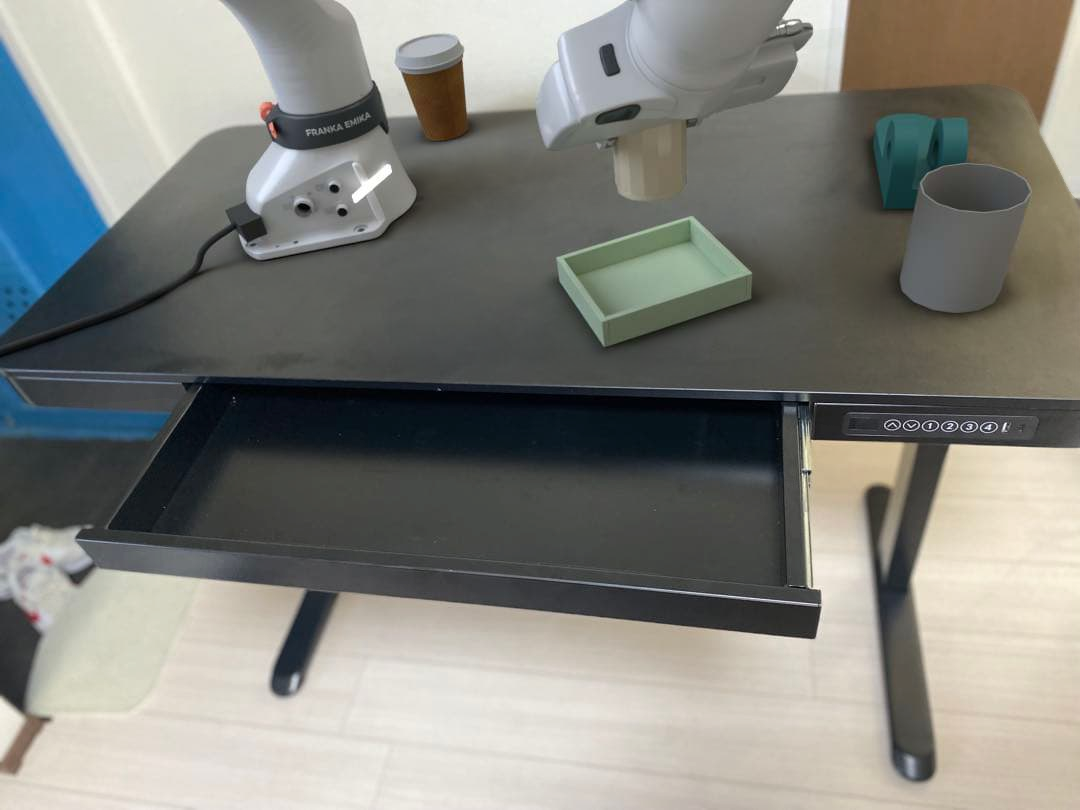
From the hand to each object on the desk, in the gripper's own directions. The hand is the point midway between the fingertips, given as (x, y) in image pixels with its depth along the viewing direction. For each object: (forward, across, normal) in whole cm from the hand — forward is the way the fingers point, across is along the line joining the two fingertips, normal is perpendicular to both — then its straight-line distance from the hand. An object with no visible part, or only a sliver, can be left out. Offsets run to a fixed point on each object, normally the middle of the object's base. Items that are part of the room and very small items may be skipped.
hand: (645, 129), depth 69 cm
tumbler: (+3, 0, +4) cm, 5 cm away
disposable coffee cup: (+45, +14, -22) cm, 52 cm away
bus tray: (+10, +1, +12) cm, 16 cm away
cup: (+2, -24, +20) cm, 32 cm away
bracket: (+17, -34, +5) cm, 38 cm away
